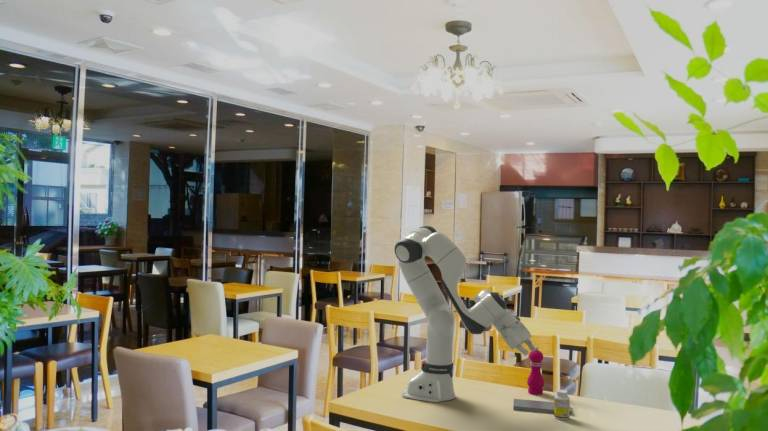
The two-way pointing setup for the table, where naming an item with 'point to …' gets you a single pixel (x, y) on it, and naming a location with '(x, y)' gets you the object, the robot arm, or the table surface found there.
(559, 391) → the supplement bottle
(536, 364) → the pepper mill
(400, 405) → the table surface
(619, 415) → the table surface
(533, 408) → the slate board
